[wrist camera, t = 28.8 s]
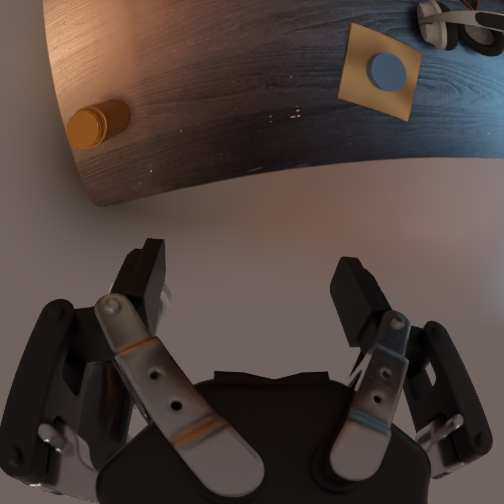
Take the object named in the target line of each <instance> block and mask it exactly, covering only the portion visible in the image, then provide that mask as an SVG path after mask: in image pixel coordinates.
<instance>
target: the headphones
mask: <svg viewBox="0 0 504 504" xmlns="http://www.w3.org/2000/svg"><path fill="white" fill-rule="evenodd" d="M417 16H418V24H419V25H420V26H419V27H420V31H421V34H422V37H423V39H424V40H425V41H426V42H430V43H432V44H433V45H435V46H436V47H437V48H438V49H442V50H448V51H450V50H453V49H455V47H456V46H457V42H458V36H459V37H460V39H461V40H462V41H463V42H464V43H465V44H466V45H467V46H468V47H470V48H471V49H472V50H474V51H476V52H478V53H480V54H482V55H485V56H498V55H500V54H501V53H503V51H504V14H500V13H493V12H485V11H476V10H464V11H450V10H449V8H448V7H447V6H446V5H444V4H443V3H441V2H438V1H434V0H428V1H427V2H425V3H419V4H418V7H417Z"/></svg>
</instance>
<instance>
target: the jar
mask: <svg viewBox="0 0 504 504" xmlns="http://www.w3.org/2000/svg"><path fill="white" fill-rule="evenodd" d="M129 119H130V113H129V109H128V107H127V106H126V104H125V103H123V102H122V101H120V100H109V101H105V102H101V103H97V104H93V105H89V106H86V107H83V108H81V109H79V110H78V111H77V112H76V113H75V114H74V115H73V116H72V117H71V118H70V120H69V122H68V125H67V137H68V140H69V141H70V143H71V144H72V145H73V146H74V147H76V148H79V149H91V148H94V147H96V146H98V145H100V144H101V143H103V142H105V141H106V140H108V139H110V138H112V137H113V136H115V135H117V134H119V133H121V132H122V131H123V130H124V129H125V128H126V127H127V125H128V123H129Z"/></svg>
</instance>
